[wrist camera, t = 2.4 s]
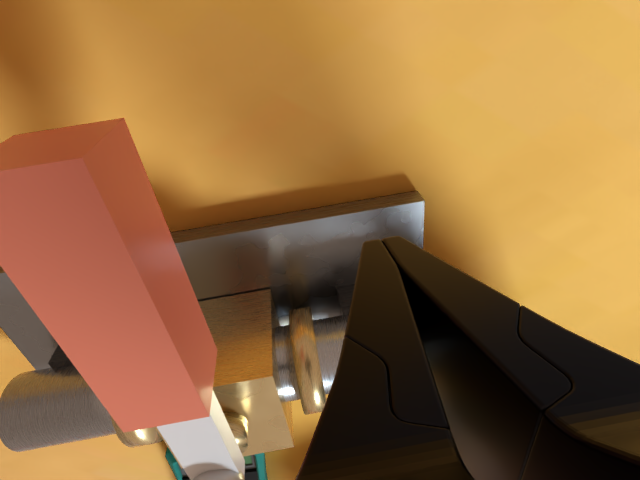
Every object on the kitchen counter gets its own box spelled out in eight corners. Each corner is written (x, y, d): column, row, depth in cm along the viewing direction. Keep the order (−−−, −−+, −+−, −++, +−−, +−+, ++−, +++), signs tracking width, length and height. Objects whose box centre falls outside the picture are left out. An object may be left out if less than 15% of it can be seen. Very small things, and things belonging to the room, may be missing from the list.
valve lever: (256, 446, 19) (256, 511, 17) (199, 457, 19) (190, 523, 17) (123, 117, 10) (82, 157, 8) (13, 135, 10) (-63, 180, 8)
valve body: (417, 190, 22) (490, 287, 15) (413, 356, 29) (460, 471, 22) (-24, 265, 21) (-168, 406, 14) (93, 416, 28) (39, 553, 22)
